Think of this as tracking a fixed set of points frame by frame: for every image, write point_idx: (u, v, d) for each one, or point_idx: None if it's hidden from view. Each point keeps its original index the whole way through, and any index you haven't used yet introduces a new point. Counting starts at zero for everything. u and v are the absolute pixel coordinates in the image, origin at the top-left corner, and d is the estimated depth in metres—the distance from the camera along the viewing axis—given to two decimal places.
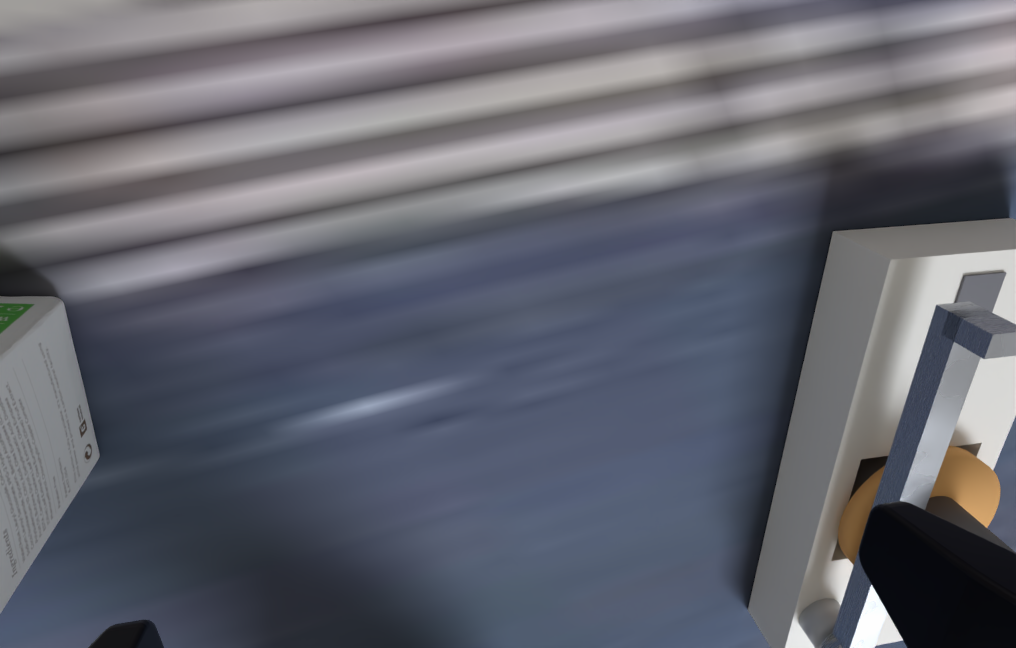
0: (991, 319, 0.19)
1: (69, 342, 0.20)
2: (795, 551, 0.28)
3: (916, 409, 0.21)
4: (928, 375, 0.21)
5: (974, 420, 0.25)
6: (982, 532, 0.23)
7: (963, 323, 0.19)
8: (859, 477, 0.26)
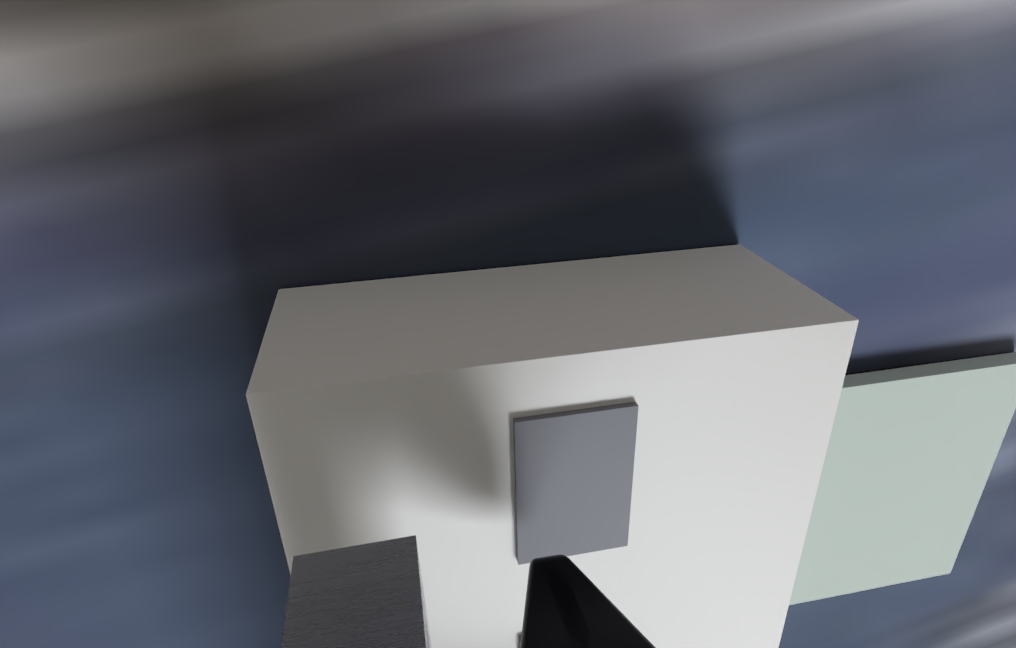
0: None
1: None
2: None
3: None
4: None
5: None
6: None
7: None
8: None
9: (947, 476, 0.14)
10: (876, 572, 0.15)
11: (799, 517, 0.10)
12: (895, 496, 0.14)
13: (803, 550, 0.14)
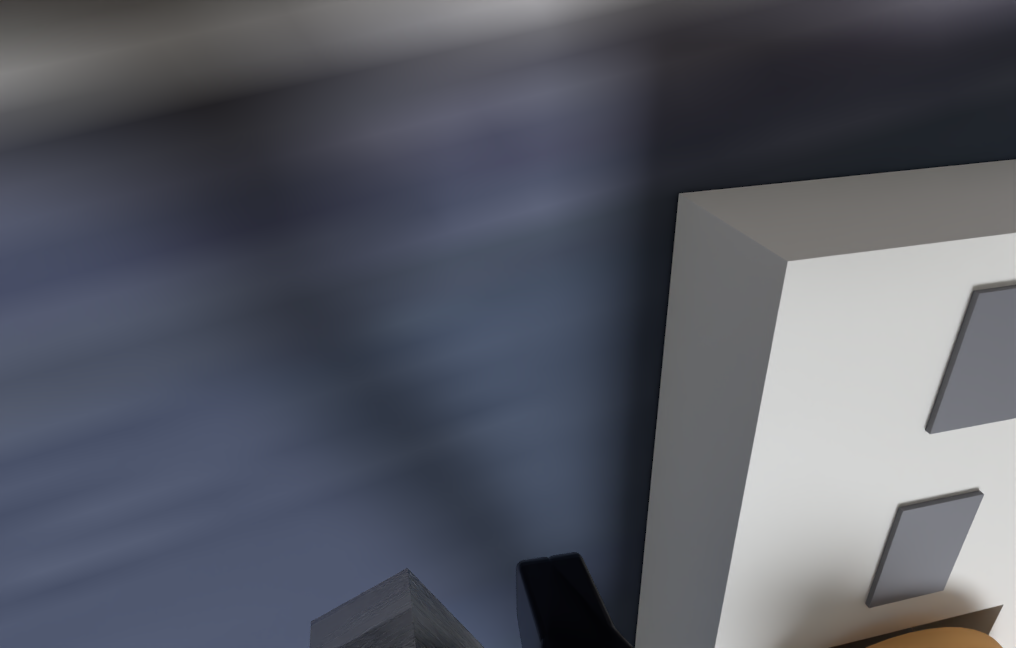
0: None
1: None
2: None
3: None
4: None
5: (990, 571, 0.12)
6: None
7: None
8: None
9: None
10: None
11: None
12: None
13: None
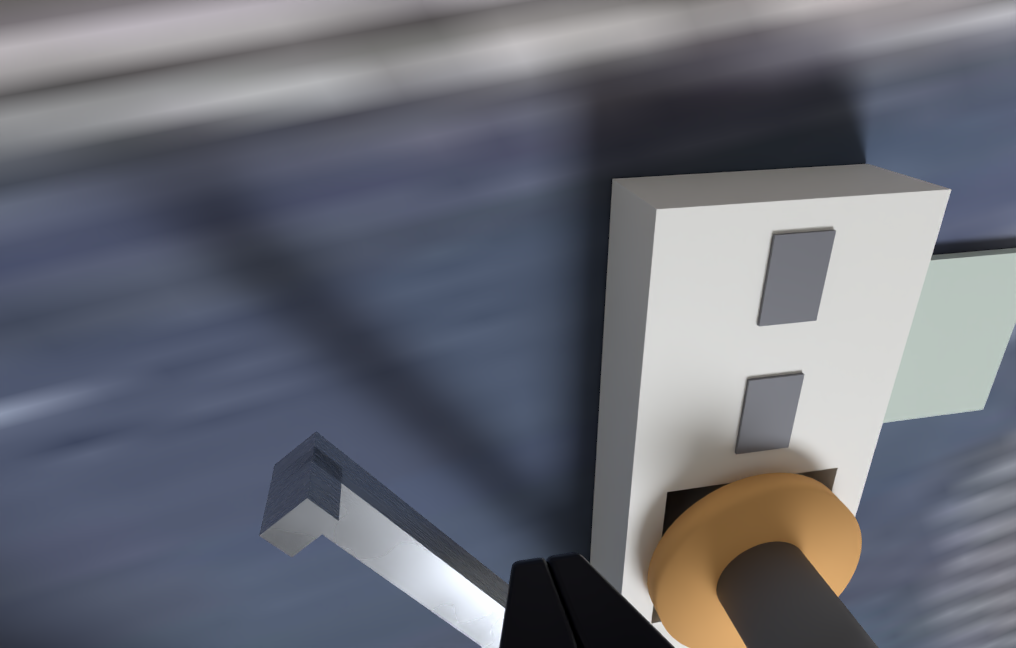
0: (295, 481, 0.12)
1: None
2: None
3: None
4: None
5: (822, 438, 0.18)
6: (818, 596, 0.17)
7: None
8: (680, 514, 0.20)
9: (984, 331, 0.21)
10: (934, 403, 0.22)
11: (908, 314, 0.17)
12: (949, 344, 0.21)
13: None
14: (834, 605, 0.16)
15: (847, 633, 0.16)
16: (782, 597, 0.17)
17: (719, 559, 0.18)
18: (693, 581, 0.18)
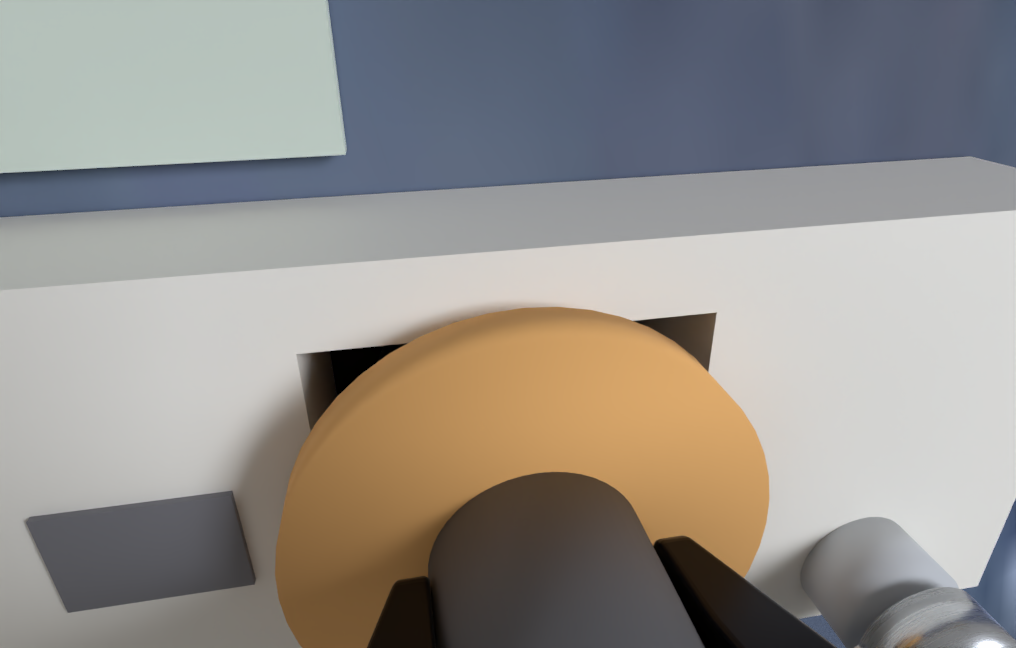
0: None
1: None
2: None
3: None
4: None
5: (206, 419, 0.08)
6: None
7: None
8: None
9: None
10: None
11: None
12: None
13: (188, 31, 0.08)
14: None
15: None
16: None
17: None
18: None
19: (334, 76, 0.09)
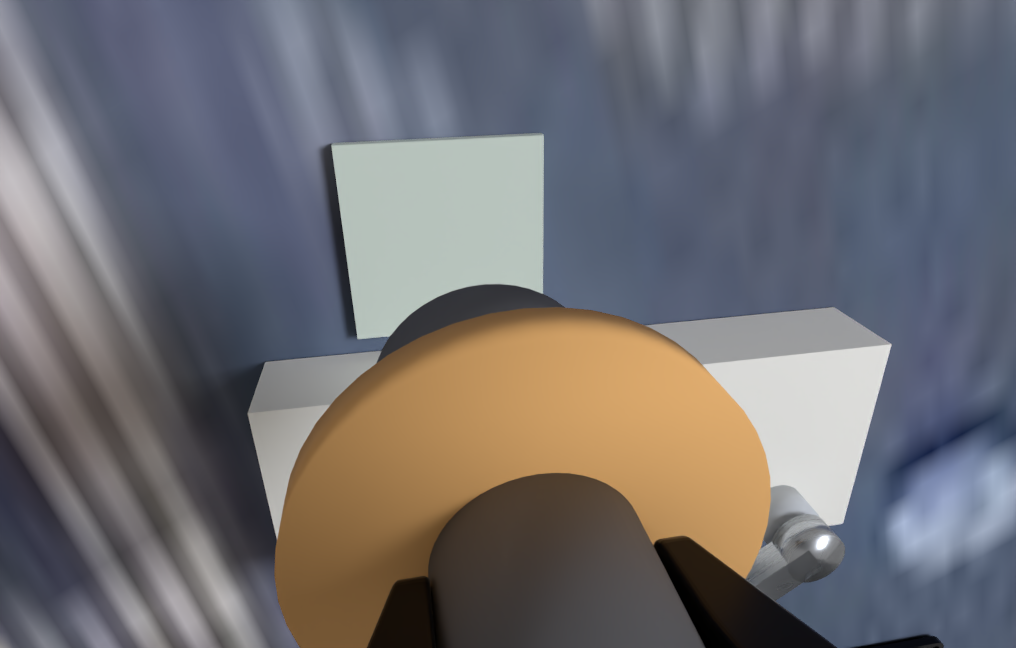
0: None
1: None
2: None
3: None
4: None
5: None
6: None
7: None
8: None
9: (434, 180, 0.19)
10: (525, 209, 0.19)
11: None
12: (448, 220, 0.19)
13: (488, 279, 0.20)
14: None
15: None
16: None
17: None
18: None
19: (542, 292, 0.21)
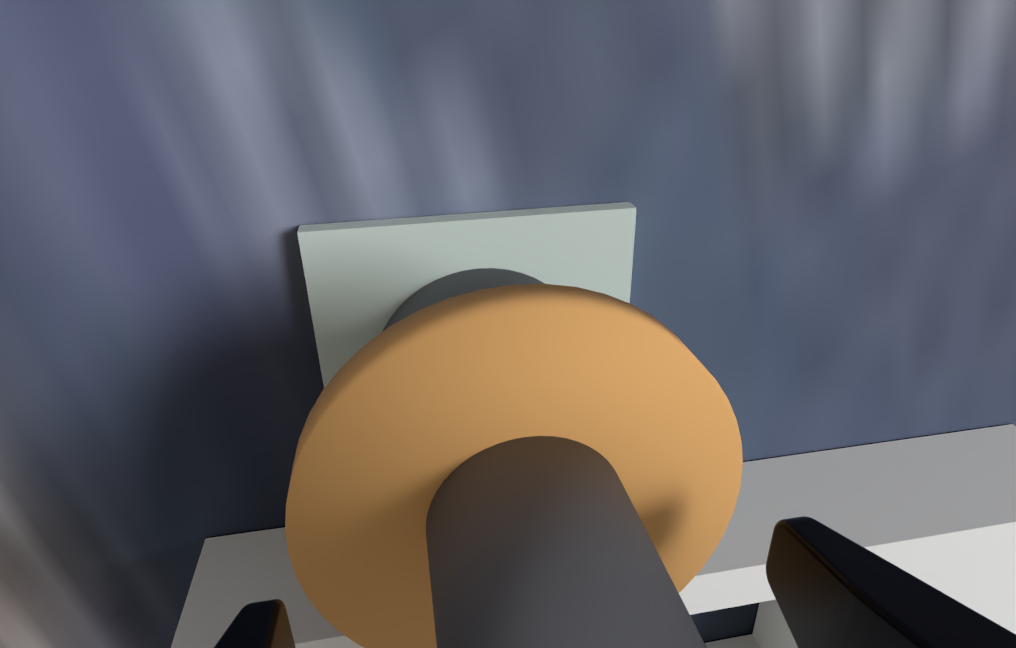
0: None
1: None
2: None
3: None
4: None
5: None
6: None
7: None
8: None
9: None
10: None
11: None
12: None
13: None
14: None
15: None
16: None
17: None
18: None
19: None
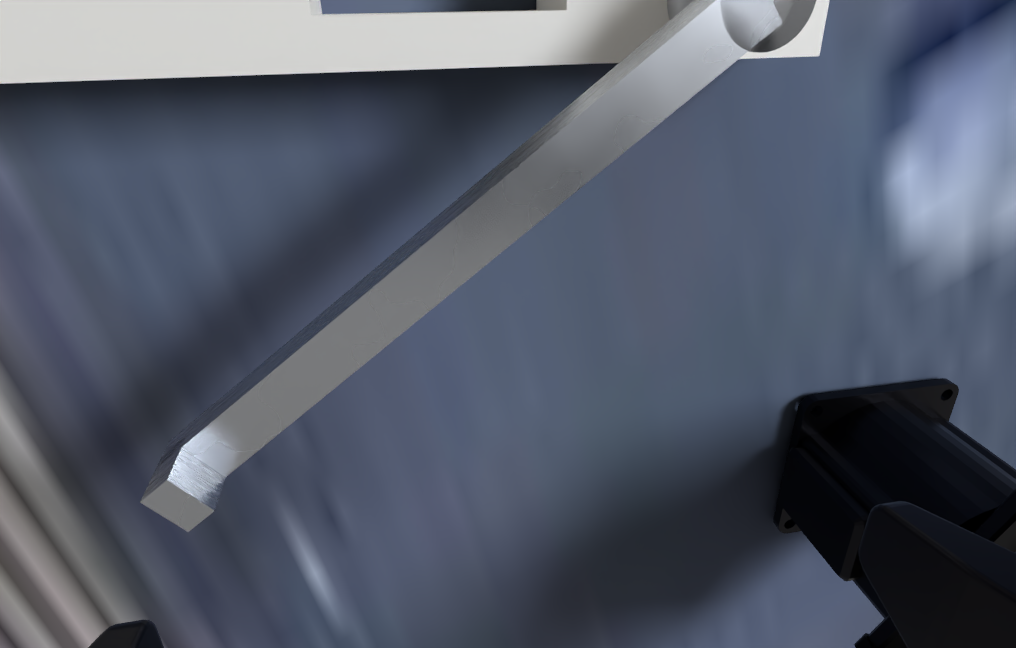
0: None
1: None
2: None
3: None
4: None
5: None
6: None
7: None
8: None
9: None
10: None
11: None
12: None
13: None
14: None
15: None
16: None
17: None
18: None
19: None
